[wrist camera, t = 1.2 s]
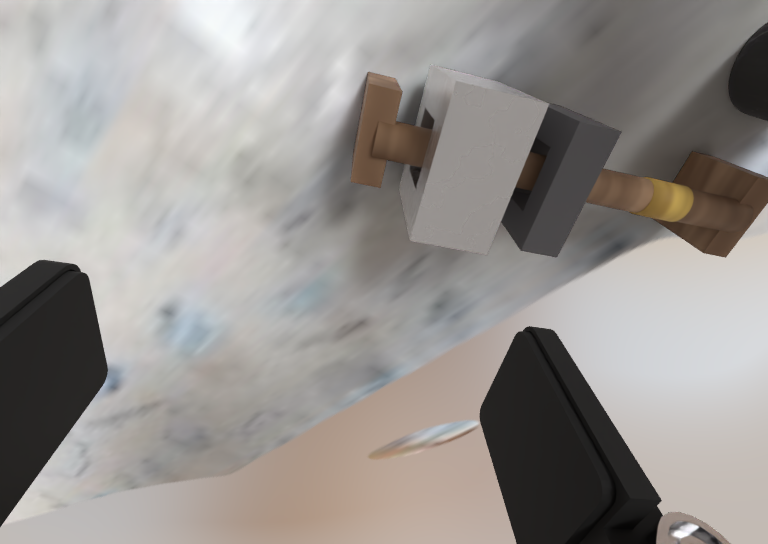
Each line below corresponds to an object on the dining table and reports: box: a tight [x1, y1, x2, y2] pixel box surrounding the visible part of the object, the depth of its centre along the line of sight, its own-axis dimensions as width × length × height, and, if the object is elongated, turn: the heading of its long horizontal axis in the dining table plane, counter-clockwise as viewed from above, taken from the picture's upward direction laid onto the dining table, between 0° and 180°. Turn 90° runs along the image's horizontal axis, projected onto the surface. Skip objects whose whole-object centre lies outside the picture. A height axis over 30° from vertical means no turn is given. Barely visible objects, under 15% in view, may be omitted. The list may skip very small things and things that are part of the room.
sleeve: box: [399, 64, 549, 255], centre depth 26 cm, size 5×9×9 cm, turn 167°
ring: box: [501, 102, 621, 257], centre depth 27 cm, size 2×8×8 cm, turn 167°
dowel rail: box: [351, 72, 768, 257], centre depth 29 cm, size 29×6×7 cm, turn 77°
